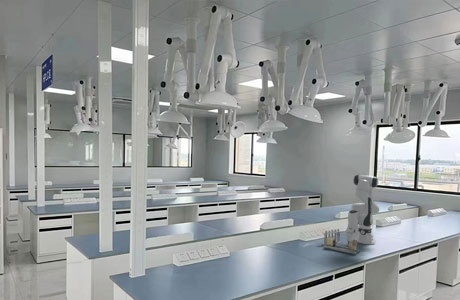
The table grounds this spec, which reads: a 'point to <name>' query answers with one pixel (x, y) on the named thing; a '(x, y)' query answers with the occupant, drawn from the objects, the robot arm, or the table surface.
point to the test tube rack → (332, 236)
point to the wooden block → (352, 245)
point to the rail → (339, 247)
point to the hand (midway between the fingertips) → (352, 244)
